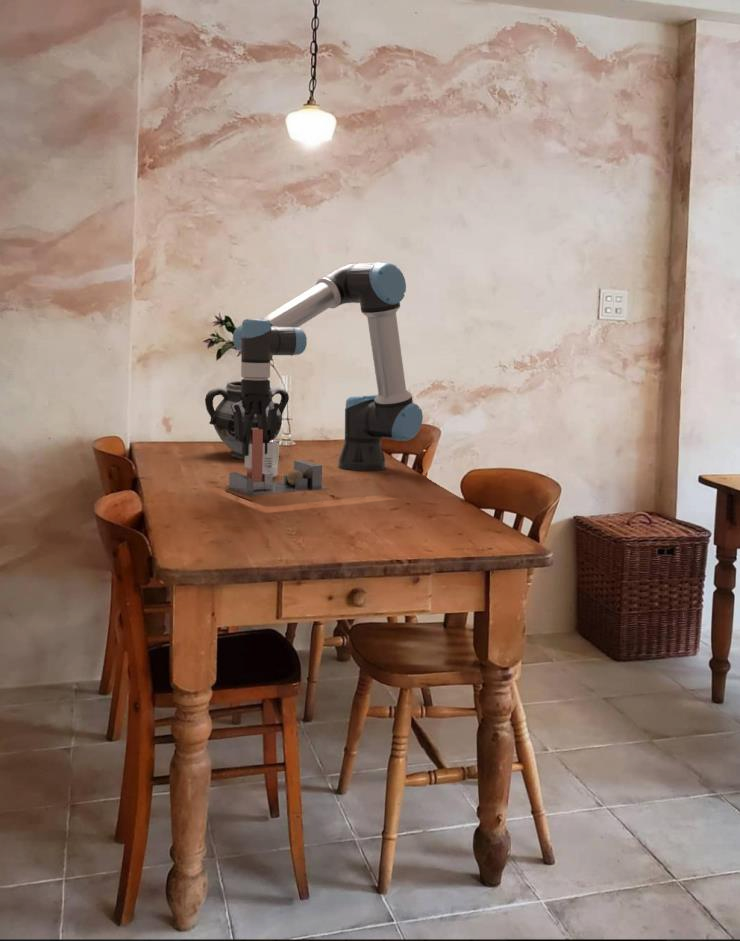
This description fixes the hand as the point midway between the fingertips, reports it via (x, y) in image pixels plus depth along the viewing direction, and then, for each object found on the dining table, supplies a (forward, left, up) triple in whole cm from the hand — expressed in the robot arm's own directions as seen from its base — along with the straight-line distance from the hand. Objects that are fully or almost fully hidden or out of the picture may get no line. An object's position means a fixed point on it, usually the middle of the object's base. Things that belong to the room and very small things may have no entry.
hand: (254, 467), depth 246 cm
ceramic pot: (-28, -58, -8) cm, 65 cm away
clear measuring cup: (-13, -18, -8) cm, 24 cm away
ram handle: (-1, 0, -6) cm, 6 cm away
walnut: (-13, 0, -6) cm, 14 cm away
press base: (-7, 0, -8) cm, 10 cm away
